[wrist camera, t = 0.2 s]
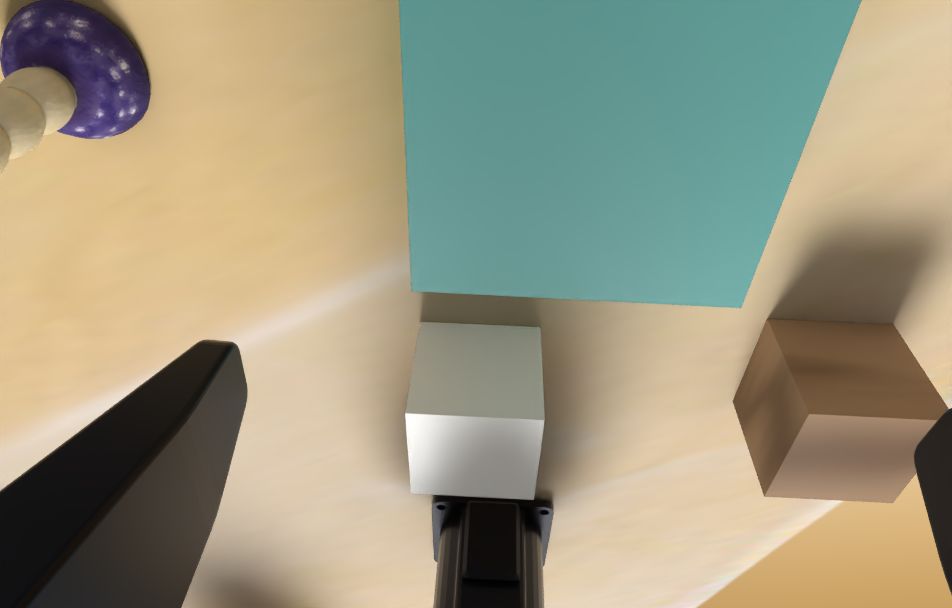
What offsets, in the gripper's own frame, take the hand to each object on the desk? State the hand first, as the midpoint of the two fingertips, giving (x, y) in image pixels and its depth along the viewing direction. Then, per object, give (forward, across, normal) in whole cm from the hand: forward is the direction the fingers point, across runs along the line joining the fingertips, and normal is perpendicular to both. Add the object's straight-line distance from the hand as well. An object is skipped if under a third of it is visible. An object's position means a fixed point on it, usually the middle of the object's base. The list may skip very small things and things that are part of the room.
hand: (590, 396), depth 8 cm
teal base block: (+15, -1, +1) cm, 15 cm away
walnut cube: (+14, -13, +12) cm, 23 cm away
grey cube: (+14, +1, +14) cm, 20 cm away
